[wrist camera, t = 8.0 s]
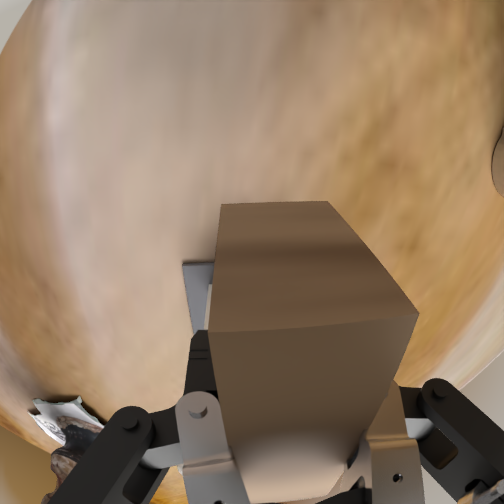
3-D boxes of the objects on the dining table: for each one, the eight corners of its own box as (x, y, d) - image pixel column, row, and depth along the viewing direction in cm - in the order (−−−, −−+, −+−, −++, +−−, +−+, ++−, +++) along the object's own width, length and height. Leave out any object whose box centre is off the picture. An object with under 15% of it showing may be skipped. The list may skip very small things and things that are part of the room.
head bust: (10, 402, 44) (-24, 533, 13) (80, 385, 43) (50, 570, 12) (74, 452, 54) (62, 568, 23) (149, 443, 53) (153, 589, 22)
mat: (183, 263, 31) (182, 266, 30) (318, 257, 31) (319, 259, 31) (199, 358, 37) (199, 361, 37) (307, 352, 38) (308, 355, 37)
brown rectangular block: (221, 204, 10) (207, 332, 4) (327, 201, 10) (419, 313, 5) (237, 397, 14) (240, 504, 9) (304, 392, 14) (326, 495, 9)
